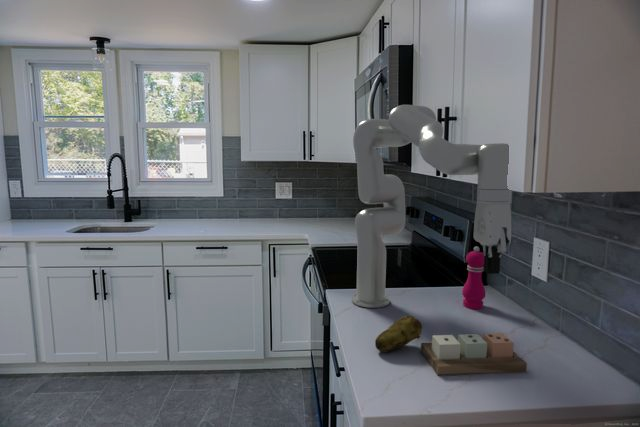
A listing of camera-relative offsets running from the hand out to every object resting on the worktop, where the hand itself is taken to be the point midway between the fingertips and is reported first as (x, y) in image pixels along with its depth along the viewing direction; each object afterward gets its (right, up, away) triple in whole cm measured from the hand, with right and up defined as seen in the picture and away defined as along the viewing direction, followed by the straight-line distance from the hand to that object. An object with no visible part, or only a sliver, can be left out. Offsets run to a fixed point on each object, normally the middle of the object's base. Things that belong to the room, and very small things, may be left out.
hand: (491, 272), depth 102 cm
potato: (-21, -21, +7) cm, 31 cm away
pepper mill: (+9, -16, +38) cm, 42 cm away
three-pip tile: (+2, -20, +1) cm, 20 cm away
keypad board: (-5, -22, +1) cm, 22 cm away
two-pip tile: (-5, -20, +1) cm, 20 cm away
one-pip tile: (-11, -20, 0) cm, 23 cm away
